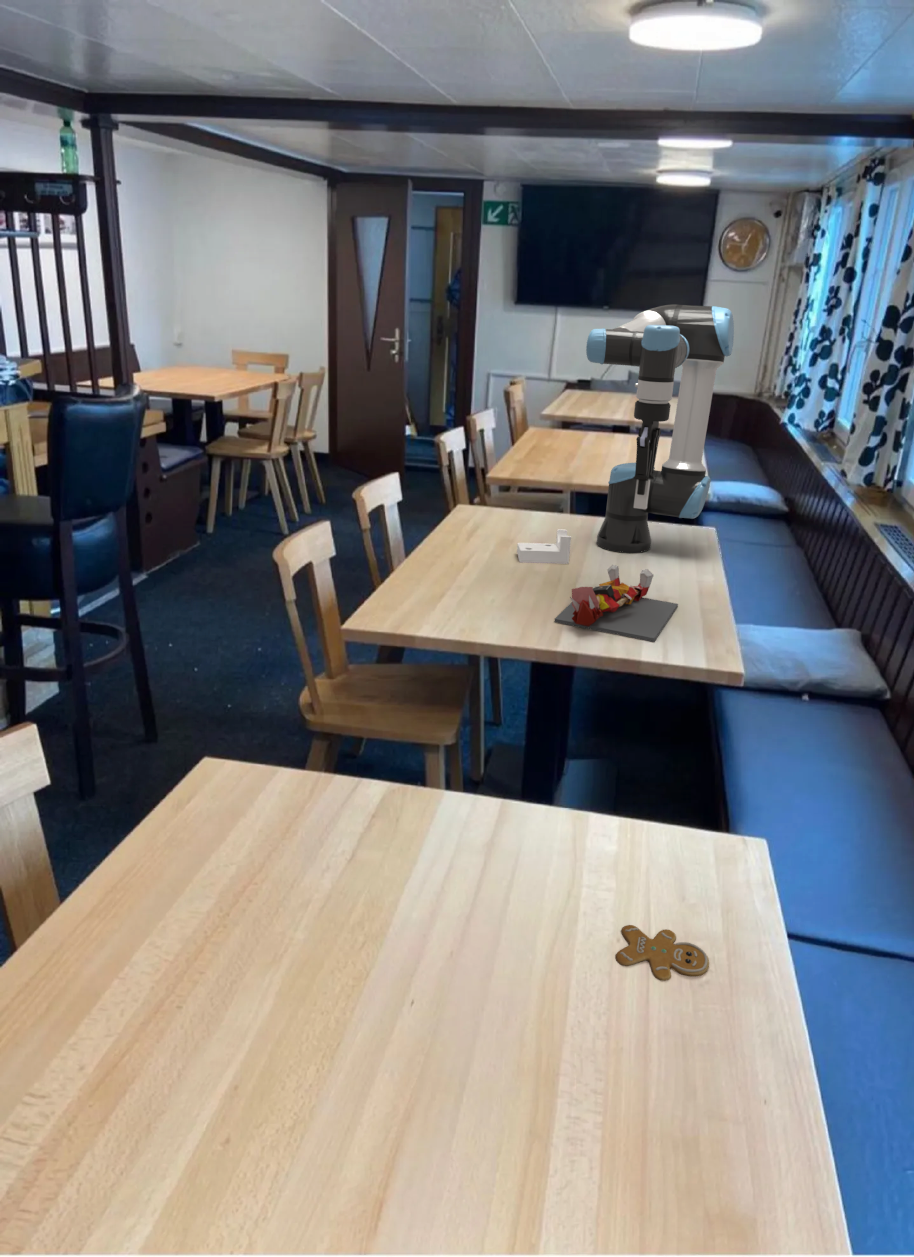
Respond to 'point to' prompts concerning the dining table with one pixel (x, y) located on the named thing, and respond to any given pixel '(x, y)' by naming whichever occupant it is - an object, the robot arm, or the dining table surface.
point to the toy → (607, 596)
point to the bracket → (546, 550)
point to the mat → (629, 619)
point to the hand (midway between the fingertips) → (640, 507)
